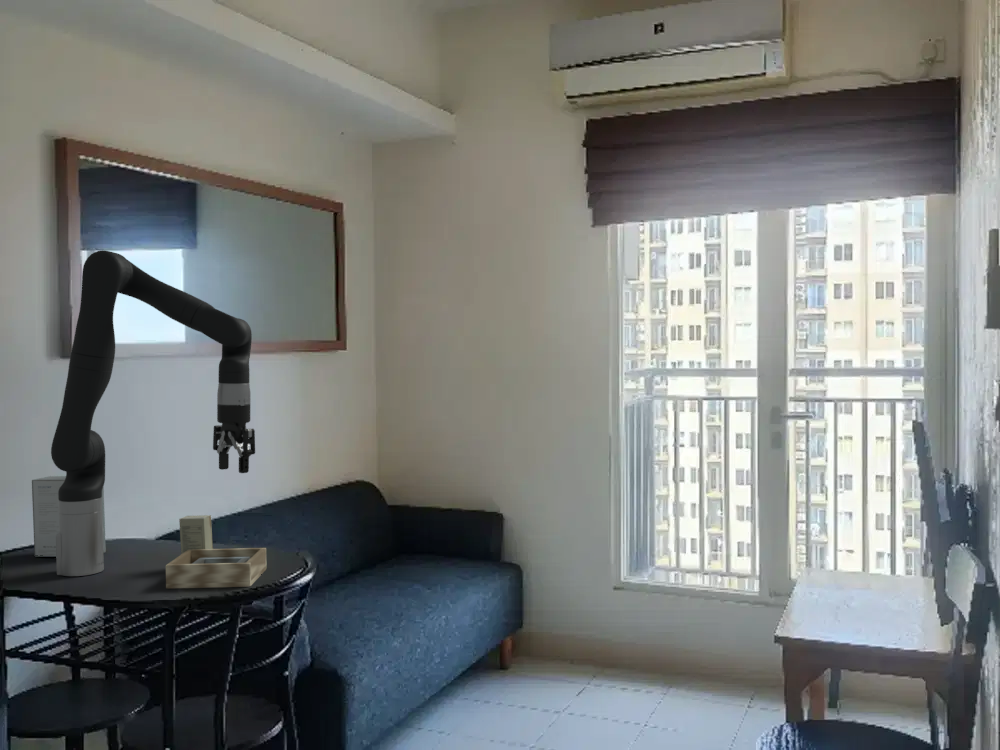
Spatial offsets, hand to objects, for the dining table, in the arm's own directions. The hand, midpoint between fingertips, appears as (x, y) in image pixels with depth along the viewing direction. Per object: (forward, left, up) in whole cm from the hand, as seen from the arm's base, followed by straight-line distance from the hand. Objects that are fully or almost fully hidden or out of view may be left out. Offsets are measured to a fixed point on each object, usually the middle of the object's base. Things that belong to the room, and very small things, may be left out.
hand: (233, 471), depth 216 cm
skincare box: (-9, 0, -23) cm, 25 cm away
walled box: (-1, -11, -23) cm, 25 cm away
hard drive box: (-46, +17, -23) cm, 54 cm away
